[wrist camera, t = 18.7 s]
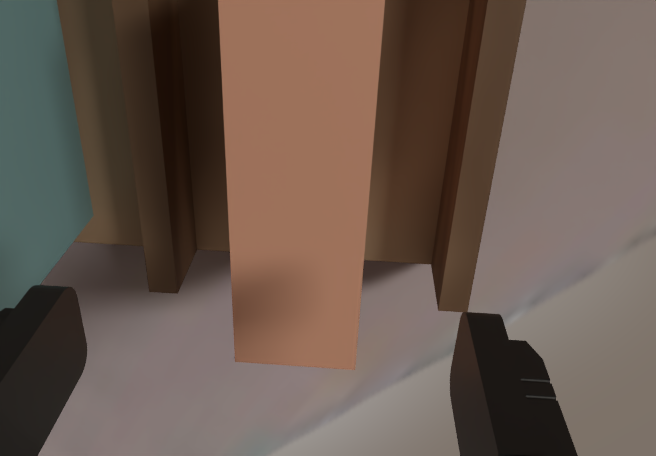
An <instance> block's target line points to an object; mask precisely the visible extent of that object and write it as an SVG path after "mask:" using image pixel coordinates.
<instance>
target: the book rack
mask: <svg viewBox="0 0 656 456" xmlns="http://www.w3.org/2000/svg"><path fill="white" fill-rule="evenodd" d="M57 5H58V11H59V17H60V22H61V28H62V34H63V40H64V46H65V52H66V57H67V63H68V69H69V75H70V81H71V87H72V92H73V98H74V104H75V110H76V116H77V122H78V127H79V133H80V139H81V145H82V151H83V156H84V162H85V168H86V174H87V180H88V186H89V191H90V197H91V203H92V209H93V215H94V216H93V217H92V218H91V220H90V221H89V222H88V224H87V225H86V226H85V227H84V229H83V230H82V231H81V233H80V234H79V235H78V236H77V238H76V239H75V240H74V242H85V243H101V244H117V245H133V246H143V247H144V254H145V262H146V270H147V278H148V285H149V292H161V293H178V291H179V289H180V287H181V284H182V282H183V280H184V278H185V275H186V273H187V271H188V269H189V266H190V264H191V262H192V260H193V257H194V255H195V253H196V251H197V250H212V251H228V252H230V241H229V220H228V199H227V178H226V156H225V135H224V114H223V93H222V72H221V51H220V29H219V8H218V0H57ZM525 5H526V0H385V7H384V19H383V31H382V44H381V56H380V68H379V81H378V93H377V105H376V118H375V130H374V142H373V155H372V167H371V179H370V192H369V204H368V216H367V229H366V241H365V253H364V260H371V261H387V262H403V263H419V264H431V267H432V273H433V280H434V286H435V292H436V299H437V305H438V311H453V312H467V311H468V305H469V300H470V295H471V290H472V284H473V279H474V274H475V269H476V263H477V258H478V253H479V247H480V242H481V237H482V232H483V226H484V221H485V216H486V211H487V205H488V200H489V195H490V189H491V184H492V179H493V174H494V168H495V163H496V158H497V153H498V147H499V142H500V137H501V131H502V126H503V121H504V116H505V110H506V105H507V100H508V95H509V89H510V84H511V79H512V73H513V68H514V63H515V58H516V52H517V47H518V42H519V37H520V31H521V26H522V21H523V15H524V10H525Z"/></svg>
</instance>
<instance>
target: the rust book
mask: <svg viewBox="0 0 656 456" xmlns="http://www.w3.org/2000/svg"><path fill="white" fill-rule="evenodd" d="M384 7H385V0H218V8H219V29H220V51H221V72H222V93H223V114H224V135H225V156H226V178H227V199H228V220H229V241H230V262H231V283H232V305H233V326H234V347H235V362H247V363H262V364H277V365H291V366H306V367H321V368H335V369H350V370H355V364H356V352H357V340H358V327H359V315H360V303H361V290H362V278H363V266H364V253H365V241H366V229H367V216H368V204H369V192H370V179H371V167H372V155H373V142H374V130H375V118H376V105H377V93H378V81H379V68H380V56H381V44H382V31H383V19H384Z"/></svg>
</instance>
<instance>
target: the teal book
mask: <svg viewBox="0 0 656 456" xmlns="http://www.w3.org/2000/svg"><path fill="white" fill-rule="evenodd" d="M93 216H94V215H93V209H92V203H91V197H90V191H89V186H88V180H87V174H86V168H85V162H84V156H83V151H82V145H81V139H80V133H79V127H78V122H77V116H76V110H75V104H74V98H73V92H72V87H71V81H70V75H69V69H68V63H67V57H66V52H65V46H64V40H63V34H62V28H61V22H60V17H59V11H58V5H57V0H0V311H1V310H3V309H4V308H15V307H16V305H17V304H18V303H19V302H20V300H21V299H22V298H23V296H24V295H25V294H26V293H27V291H28V290H29V289H30V288H31V287H32V286H34V285H40V284H41V283H42V281H43V280H44V279H45V277H46V276H47V275H48V274H49V272H50V271H51V270H52V268H53V267H54V266H55V265H56V263H57V262H58V261H59V260H60V258H61V257H62V256H63V254H64V253H65V252H66V251H67V249H68V248H69V247H70V245H71V244H72V243H73V242H74V240H75V239H76V238H77V236H78V235H79V234H80V233H81V231H82V230H83V229H84V227H85V226H86V225H87V224H88V222H89V221H90V220H91V218H92V217H93Z"/></svg>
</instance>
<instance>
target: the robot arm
mask: <svg viewBox="0 0 656 456" xmlns="http://www.w3.org/2000/svg"><path fill="white" fill-rule="evenodd" d="M86 357H87V343H86V338H85V333H84V328H83V323H82V318H81V313H80V308H79V303H78V298H77V294H76V292H75V290H74V289H73V288H72V287H60V286H44V285H34V286H32V287H31V288H30V289H29V290H28V291H27V293H26V294H25V295H24V296H23V298H22V299H21V300H20V302H19V303H18V304H17V305H16V307H15V308H4V309H3V310H1V311H0V456H38V454H39V452H40V450H41V448H42V447H43V445H44V443H45V441H46V439H47V437H48V436H49V434H50V432H51V430H52V428H53V426H54V425H55V423H56V421H57V419H58V417H59V415H60V414H61V412H62V410H63V408H64V406H65V404H66V402H67V401H68V399H69V397H70V395H71V393H72V391H73V390H74V388H75V386H76V384H77V382H78V380H79V379H80V377H81V375H82V373H83V370H84V367H85V363H86ZM450 396H451V403H452V409H453V415H454V421H455V427H456V433H457V439H458V445H459V450H460V456H578V455H577V453H576V450H575V447H574V445H573V442H572V439H571V437H570V433H569V431H568V428H567V425H566V422H565V420H564V417H563V414H562V411H561V409H560V406H559V403H558V401H556V395H555V392H554V389H553V387H552V384H550V378H549V375H548V373H547V370H546V367H545V365H544V362H543V359H542V358H541V357H540V356H539V355H538V354H537V353H536V351H535V350H534V349H533V348H532V347H531V346H530V345H529V344H528V343H527V342H526V341H519V340H509V339H508V336H507V332H506V329H505V326H504V322H503V319H502V317H501V315H500V314H487V313H471V312H463V313H462V315H461V318H460V323H459V328H458V334H457V339H456V344H455V350H454V355H453V360H452V366H451V373H450Z"/></svg>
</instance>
